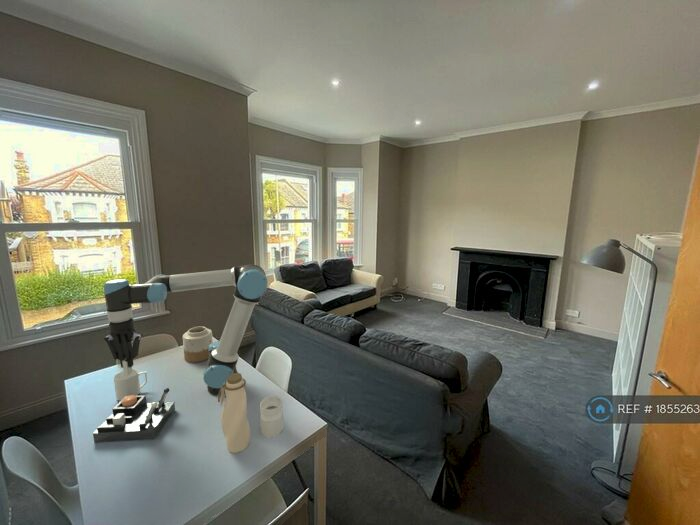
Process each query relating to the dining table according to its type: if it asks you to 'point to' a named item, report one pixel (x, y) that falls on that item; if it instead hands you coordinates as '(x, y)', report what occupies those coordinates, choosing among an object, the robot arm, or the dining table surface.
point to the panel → (134, 422)
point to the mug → (128, 384)
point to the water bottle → (234, 413)
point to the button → (129, 401)
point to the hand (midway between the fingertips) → (128, 374)
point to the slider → (119, 419)
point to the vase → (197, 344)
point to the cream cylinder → (271, 416)
